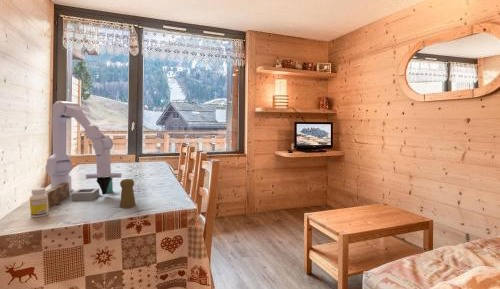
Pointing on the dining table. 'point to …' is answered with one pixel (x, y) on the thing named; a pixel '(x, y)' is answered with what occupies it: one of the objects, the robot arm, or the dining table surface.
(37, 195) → the supplement bottle
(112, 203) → the dining table surface
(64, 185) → the rail
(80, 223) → the dining table surface
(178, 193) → the dining table surface
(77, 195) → the socket block
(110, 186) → the dowel
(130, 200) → the cork
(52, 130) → the robot arm
